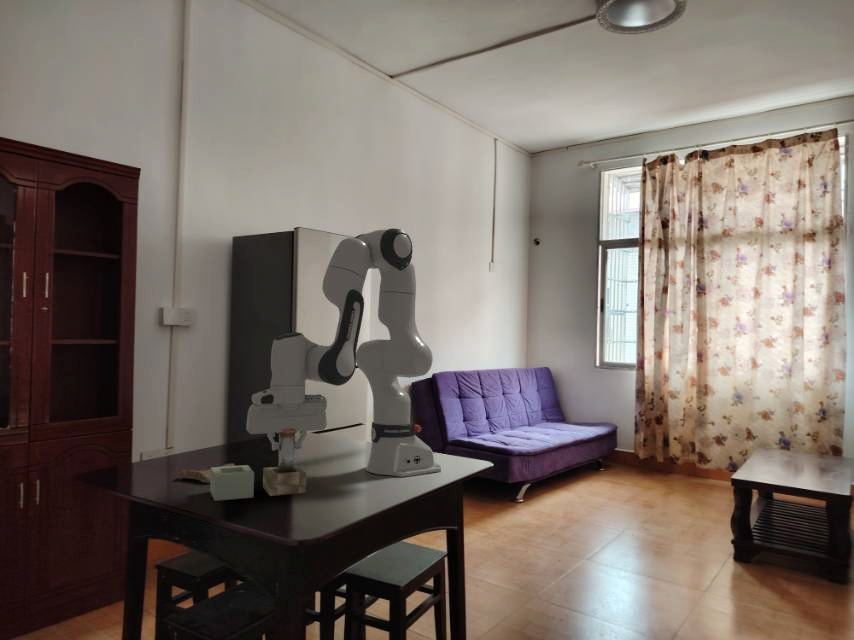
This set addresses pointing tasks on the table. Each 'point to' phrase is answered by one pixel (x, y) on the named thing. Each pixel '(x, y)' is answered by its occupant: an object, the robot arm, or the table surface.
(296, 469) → the mount block
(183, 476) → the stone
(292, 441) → the pin
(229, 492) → the socket block
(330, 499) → the table surface
